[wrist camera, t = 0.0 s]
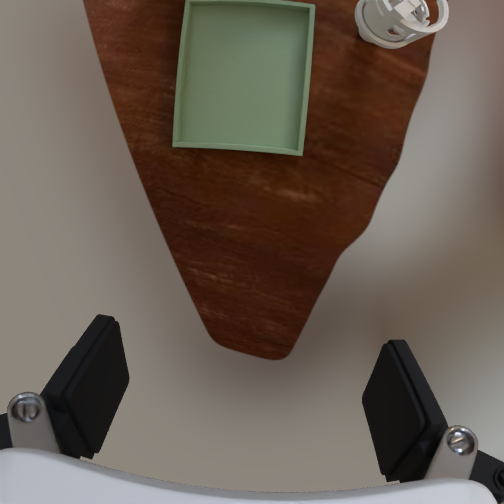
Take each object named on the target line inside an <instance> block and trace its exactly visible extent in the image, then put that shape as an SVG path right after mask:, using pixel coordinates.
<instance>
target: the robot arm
mask: <svg viewBox="0 0 504 504" xmlns="http://www.w3.org/2000/svg"><path fill="white" fill-rule="evenodd" d="M128 383H129V372H128V368H127V363H126V358H125V353H124V348H123V343H122V338H121V332H120V326H119V323H118V322H117V321H115V319H114V317H112V316H106V315H100V314H99V315H97V316H96V317H95V318H94V320H93V321H92V323H91V324H90V325H89V327H88V328H87V330H86V331H85V332H84V333H83V335H82V336H81V338H80V339H79V340H78V342H77V343H76V345H75V346H73V347H72V348H71V350H70V351H69V353H68V354H67V355H66V357H65V358H64V360H63V361H62V363H61V364H60V365H59V367H58V369H57V370H56V371H55V373H54V374H53V376H52V377H51V379H50V380H49V382H48V383H47V385H46V386H45V388H44V389H43V391H42V392H41V394H40V395H38V394H36V393H33V392H24V393H21V394H18V395H16V396H15V397H13V398H12V400H11V401H10V402H9V405H8V407H7V413H5V414H2V415H0V504H504V462H502V461H500V460H498V459H496V458H494V457H492V456H489V455H488V454H486V453H484V452H482V451H480V450H478V440H477V437H476V436H475V434H474V433H473V432H472V431H471V430H470V429H468V428H466V427H464V426H460V425H457V426H456V425H455V426H452V427H448V425H447V422H446V419H445V417H444V415H443V413H442V411H441V409H440V407H439V405H438V403H437V401H436V399H435V397H434V394H433V392H432V391H431V389H430V386H429V384H428V382H427V380H426V378H425V377H424V375H423V373H422V371H421V369H420V367H419V365H418V363H417V361H416V359H415V357H414V356H413V354H412V352H411V350H410V348H409V346H408V344H407V342H406V341H405V340H389V341H388V343H387V344H384V345H383V347H382V349H381V352H380V354H379V357H378V359H377V362H376V364H375V367H374V370H373V372H372V374H371V377H370V379H369V381H368V384H367V386H366V389H365V391H364V393H363V396H362V404H363V407H364V411H365V415H366V418H367V422H368V425H369V429H370V433H371V437H372V440H373V444H374V448H375V452H376V456H377V460H378V464H379V468H380V471H381V474H382V475H385V477H386V480H387V482H391V481H397V480H399V481H400V483H399V484H392V485H385V486H378V487H369V488H361V489H352V490H340V491H325V492H299V493H298V492H295V493H294V492H293V493H291V492H290V493H285V492H283V493H282V492H281V493H279V492H252V491H237V490H224V489H215V488H207V487H199V486H192V485H185V484H179V483H173V482H168V481H162V480H157V479H152V478H148V477H143V476H139V475H135V474H131V473H127V472H123V471H119V470H115V469H111V468H107V467H103V466H100V465H96V464H93V463H90V462H86V461H83V460H80V457H81V456H82V457H86V458H89V459H92V458H93V456H94V453H99V451H100V449H101V447H102V444H103V442H104V440H105V437H106V435H107V432H108V430H109V427H110V425H111V423H112V420H113V418H114V416H115V413H116V411H117V409H118V406H119V404H120V402H121V400H122V397H123V395H124V393H125V390H126V388H127V386H128Z"/></svg>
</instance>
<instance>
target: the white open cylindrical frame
mask: <svg viewBox="0 0 504 504" xmlns="http://www.w3.org/2000/svg"><path fill="white" fill-rule="evenodd" d="M436 2H437V4H438V8H439V18H438V21H437V23H435V24H433V25H431V26H428V27H426V26H427V25H428V24H429V23H430V21H429V20H426V18H427V17H428V16H429V10H428V7H427V5H426V3H425V1H424V0H360V1H359V2H358V3H357V5H356V8H355V20H356V23H357V26H358V28H359V34H360V36H361V37H362V38H363V39H364V40H365V41H367V42H370V43H374V44H376V45H378V46H381V47H384V48H389V49H396V48H400V47H403V46H405V45H407V44H409V43H411V42H413V41H415V40H417V39H420V38H422V37H424V36H426V35H429V34H431V33H434V32H436V31H438V30H440V29H441V28H443V27H444V26H445V24H446V22H447V20H448V16H449V9H448V4H447V1H446V0H436ZM362 6H364V7H363V9H362ZM423 7H424V8H423ZM415 10H416V11H417V15H416V13H415ZM425 27H426V28H425ZM393 31H395V32H396V33H397V34H398V35H391V34H390V33H391V32H393ZM397 41H400V42H399V43H392V42H397Z"/></svg>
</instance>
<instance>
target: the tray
mask: <svg viewBox="0 0 504 504" xmlns="http://www.w3.org/2000/svg"><path fill="white" fill-rule="evenodd" d="M185 2H186V3H185V9H184V16H183V24H182V32H181V40H180V50H179V59H178V70H177V81H176V94H175V108H174V124H173V144H172V147H189V148H211V149H228V150H243V151H255V152H267V153H277V154H287V155H296V156H303V147H304V138H305V128H306V118H307V107H308V96H309V85H310V73H311V61H312V48H313V34H314V19H315V5H314V4H307V3H299V2H291V1H282V0H186V1H185Z"/></svg>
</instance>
